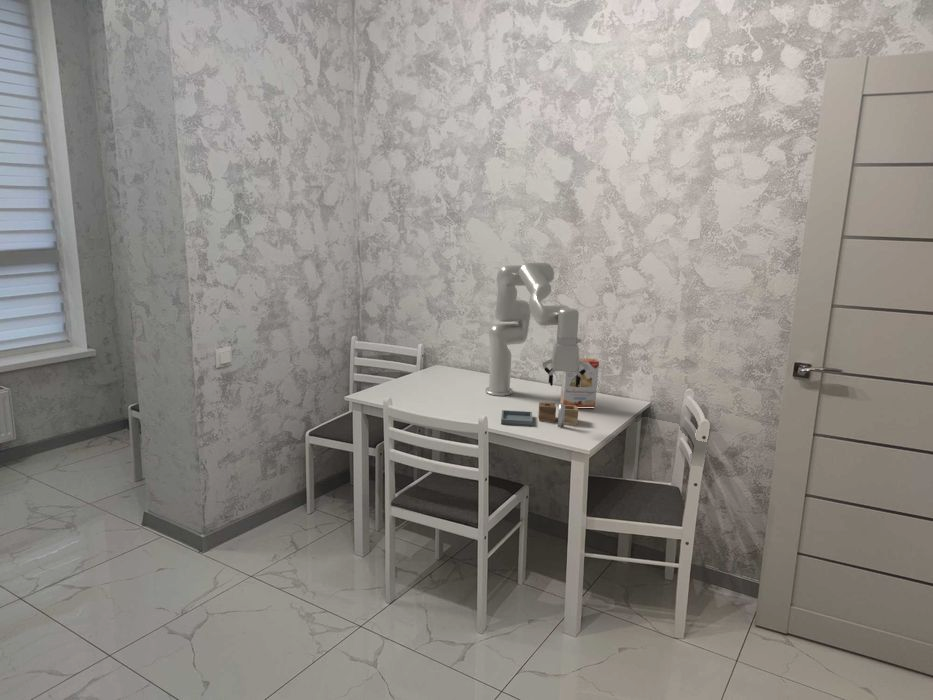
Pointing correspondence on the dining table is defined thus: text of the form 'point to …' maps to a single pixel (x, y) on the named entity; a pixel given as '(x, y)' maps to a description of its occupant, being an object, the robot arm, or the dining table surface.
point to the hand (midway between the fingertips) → (564, 385)
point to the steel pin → (561, 415)
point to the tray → (516, 418)
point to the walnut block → (547, 411)
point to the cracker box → (580, 386)
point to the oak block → (571, 414)
